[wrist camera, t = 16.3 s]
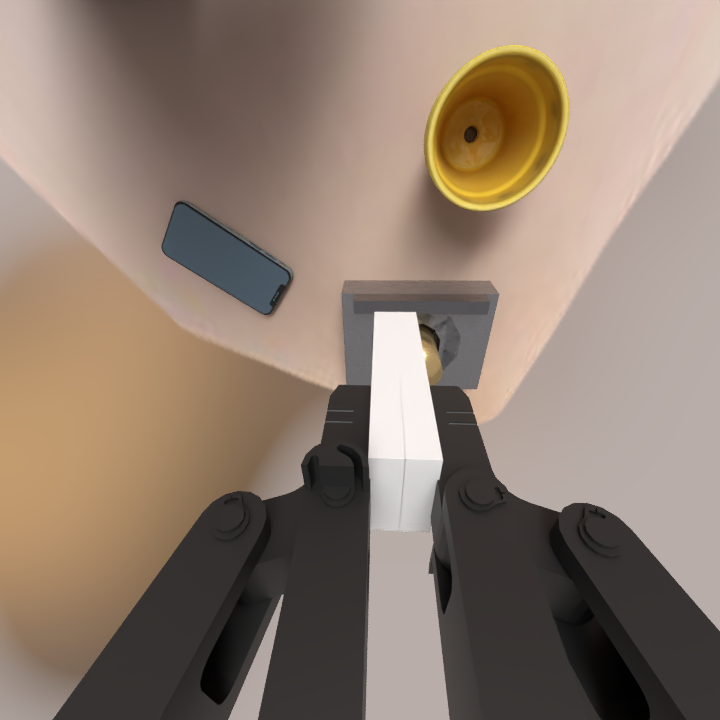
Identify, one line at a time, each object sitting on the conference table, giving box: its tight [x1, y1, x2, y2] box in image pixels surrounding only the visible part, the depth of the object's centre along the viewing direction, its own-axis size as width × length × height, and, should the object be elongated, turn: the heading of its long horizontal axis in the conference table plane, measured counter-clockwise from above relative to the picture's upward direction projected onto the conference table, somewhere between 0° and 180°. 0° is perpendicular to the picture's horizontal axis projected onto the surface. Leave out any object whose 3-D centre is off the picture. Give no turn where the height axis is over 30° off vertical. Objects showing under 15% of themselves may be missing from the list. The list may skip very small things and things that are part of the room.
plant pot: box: [424, 45, 569, 211], centre depth 29 cm, size 10×10×10 cm
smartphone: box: [162, 201, 293, 315], centre depth 42 cm, size 8×2×15 cm
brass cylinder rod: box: [418, 324, 443, 386], centre depth 42 cm, size 5×5×10 cm
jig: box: [342, 281, 499, 389], centre depth 43 cm, size 18×14×6 cm
